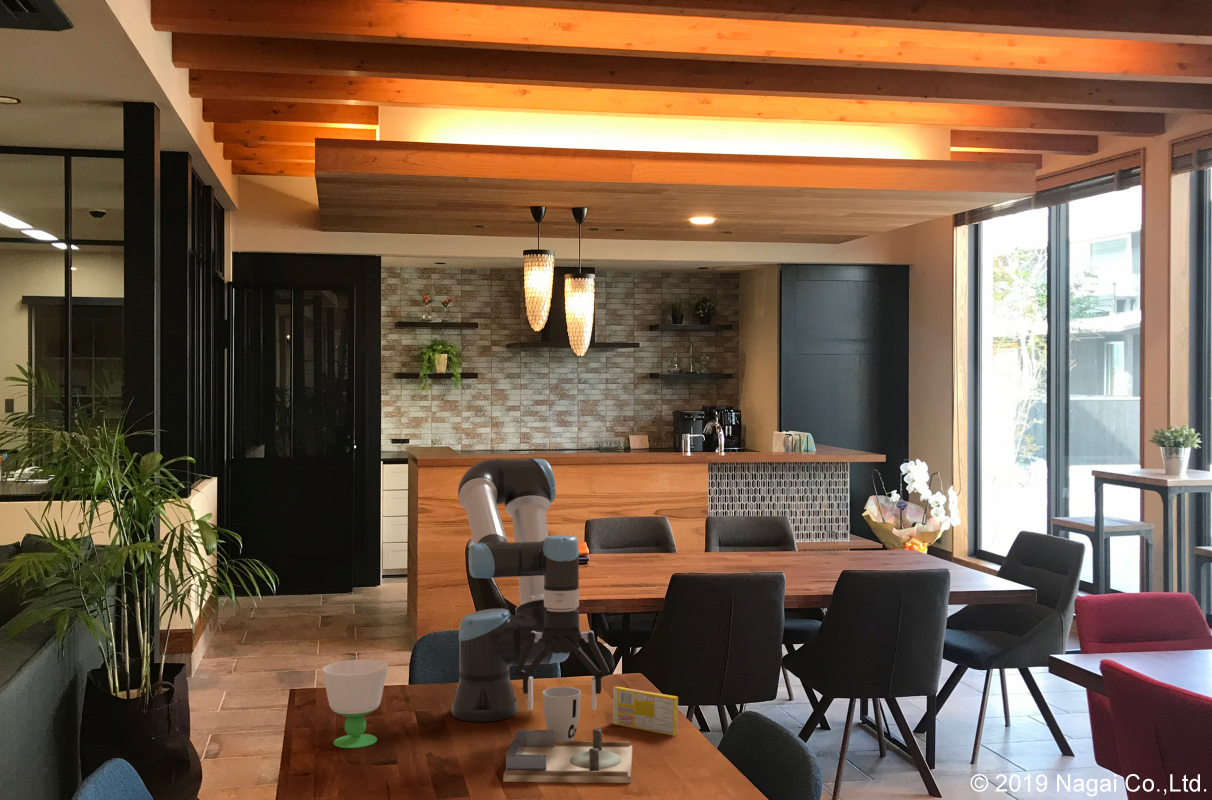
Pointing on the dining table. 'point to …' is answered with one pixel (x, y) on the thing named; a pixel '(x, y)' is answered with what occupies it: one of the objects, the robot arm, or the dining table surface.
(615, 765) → the jig
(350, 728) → the cup
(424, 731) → the dining table surface
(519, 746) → the grey u-shaped bracket
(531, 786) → the dining table surface
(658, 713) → the candy box
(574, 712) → the cup
